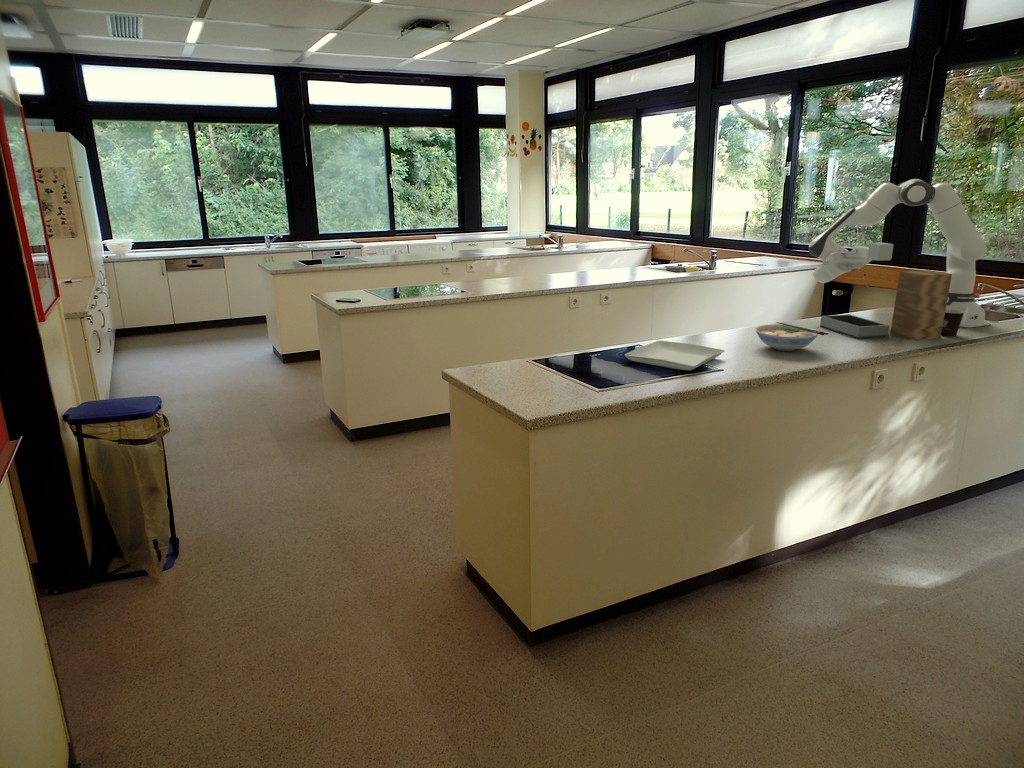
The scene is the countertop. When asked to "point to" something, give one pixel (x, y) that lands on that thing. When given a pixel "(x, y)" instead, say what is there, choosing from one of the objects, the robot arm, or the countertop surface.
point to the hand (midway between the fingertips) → (861, 250)
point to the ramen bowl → (786, 336)
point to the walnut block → (920, 304)
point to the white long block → (875, 251)
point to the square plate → (674, 355)
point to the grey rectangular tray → (854, 326)
